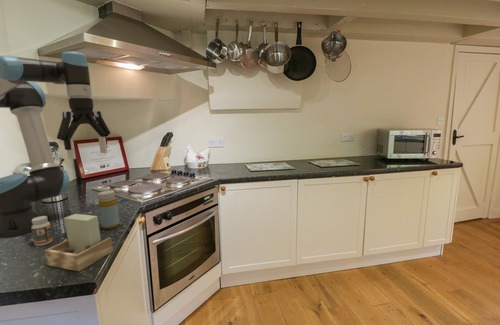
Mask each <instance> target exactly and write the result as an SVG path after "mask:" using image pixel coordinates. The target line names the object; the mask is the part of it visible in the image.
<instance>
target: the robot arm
mask: <svg viewBox="0 0 500 325" xmlns="http://www.w3.org/2000/svg"><path fill="white" fill-rule="evenodd" d="M87 59H88V58H87V56H86V54H84V52H78V51H64V52H62V53H61V61H54V60H53V61H52V60H44V59H35V58H27V57H19V56H14V55H0V108H2V109H3V108H4V109H5V108H7V109H8V108H9V111H10V113H11V114H13V115H14V116H16V119H17V122H18V124H19V129H20V131H21V136H22V139H23V142H24V145H25V149H26V153H27V155H28V158H29V162H30V165H31V169H30V170H29V172H28V175H27V173H24V172H23V173H15V174H9V175H6V176H2V177H0V238H10V237H16V236H21V235H25V234H28V233H30V232H31V233H32V229H31V227H32V225H33V223H32V219H33V218H36V217H39V216H38V214H37V212H36V211H35V209H34V206H33V203H35V202H38V201H43V200H46V199H47V200H48V199H51V198H52V199H53V198H56V197H59V196H62V195H65V194H66V193H67V192H68V191H69V188H70V176H69V174H68V172H67V170H65V169H61V166H60V164H57V163H56V162H55V160H54V159H55V158H54V156H53V152H52V148H51V145H50V143H49V142H50V141H49V138H48V136H47V132H46V129H45V126H44V123H43V120H42V115H41V113H42V112H43V111H44V109H43V108H45V106H46V103H47V102H46V99H47V98H46V95H45V92H44V91H43V88H42V87H41V86H40V85H39V84H38V83H48V84H49V83H51V84H54V85H66V86H65V87H66V93H67V94H66V95H67V97H69V98H68V104H69V105H68V106H69V107H68V108H69V109H70V110H71V111H62V114H61V115H62V118H61V123H60V125H59V129H58V132H57V135H56V138H57V140H60V141H63V146H64V150H65V151H66V154H67V158H68V160H76V159H77V157H76V156H77V155H76V151H75V150H76V149H75V145H74V139H73V136H74V135H75V132H76V131H77V129H78V128H79V126H80V125H86V124H87V125H89V126H90V127H91V128H92V129H93V130H94V131H95V133H97V134H98V135H99V136H98V138H97V139H98V144H99V145H98V146H99V150H100V154H108V149H107V148H108V147H107V145H108V140H107V139H108V138H107V137H109V135H111V131H110V129H109V127H108V125H107V124H106V122H105V120H104V118H103V116H102V113H101V110H96V111H95V110H94V100H93V98H92V96H93V93H92V87H91V78H90V71H89V64H88V60H87ZM71 139H73V140H71Z"/></svg>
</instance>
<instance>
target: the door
mask: <svg viewBox="0 0 500 325" xmlns="http://www.w3.org/2000/svg"><path fill="white" fill-rule="evenodd" d="M63 220H64V224H65V231H66V236H67V240H68V243H69V249H72V250H73V252H75V253H81V252H83V251H84V250H86V249H88V248H90V247H92V246H94V245H96V244H97V243H99V242H101V241H102V238H101V231H100V224H99V218H98V215H89V214H80V213H74V214H71V215H68V216H66V217H63Z"/></svg>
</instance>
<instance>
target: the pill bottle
mask: <svg viewBox="0 0 500 325" xmlns="http://www.w3.org/2000/svg"><path fill="white" fill-rule="evenodd" d="M32 223H33V225H32V227H31V229H32V231H31V234H32V237H33V242H34V245H35V246H37V247H42V246H45V245H49V244H50V243H51V244H52V242H53V241H54V236H53V230H52V225H51V224H52V223H51V222H50V221H48V216H47V215H42V216H38V217H36V218H33V219H32Z"/></svg>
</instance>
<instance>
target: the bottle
mask: <svg viewBox="0 0 500 325" xmlns="http://www.w3.org/2000/svg"><path fill="white" fill-rule="evenodd" d="M97 197H98V211H99V220H100V225H101V228H102V229H103V230H113V229H115V228H118V227H119V225H120V224H121V222H120V221H121V220H120V213H119V206H118V201H117V199H116V192H115V190H111V189H110V190H103V191H100V192H98V193H97Z"/></svg>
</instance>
